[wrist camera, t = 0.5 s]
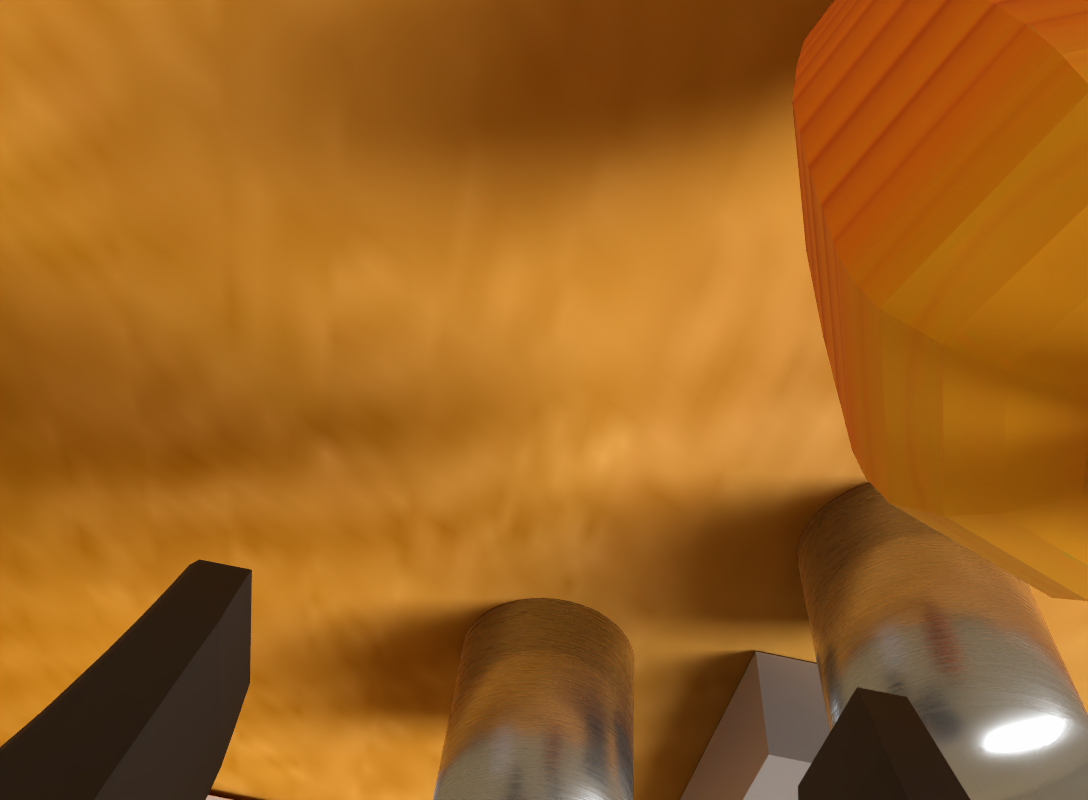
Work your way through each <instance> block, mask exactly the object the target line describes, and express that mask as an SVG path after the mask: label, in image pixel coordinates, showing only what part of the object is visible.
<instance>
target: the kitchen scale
mask: <svg viewBox="0 0 1088 800" xmlns="http://www.w3.org/2000/svg"><path fill="white" fill-rule="evenodd" d="M829 733H830V728H829V723H828V718H827V712H826V707H825V702H824V697H823V692H822V686H821V681H820V676H819V671H818V665H817V664H815V663H810V662H806V661H801V660H796V659H791V658H786V657H781V656H776V655H772V654H767V653H762V652H757V651H756V652H755V654H754V656H753V657H752V659H751V661H750V663H749V665H748V667H747V669H746V671H745V673H744V675H743V677H742V679H741V681H740V683H739V685H738V687H737V689H736V691H735V693H734V695H733V697H732V699H731V701H730V703H729V705H728V707H727V709H726V711H725V712H724V714H723V716H722V718H721V720H720V722H719V724H718V726H717V728H716V730H715V732H714V734H713V736H712V738H711V740H710V742H709V744H708V746H707V748H706V750H705V752H704V754H703V756H702V758H701V760H700V762H699V764H698V765H697V767H696V769H695V771H694V773H693V775H692V777H691V779H690V781H689V783H688V785H687V787H686V789H685V791H684V793H683V795H682V797H681V799H680V800H798V785H799V783H800V782H801V780H802V778H803V777H804V775H805V773H806V772H807V770H808V768H809V767H810V765H811V763H812V762H813V760H814V758H815V757H816V755H817V753H818V752H819V750H820V748H821V747H822V745H823V743H824V742H825V740H826V738H827V737H828V735H829Z"/></svg>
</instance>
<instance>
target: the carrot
mask: <svg viewBox="0 0 1088 800" xmlns="http://www.w3.org/2000/svg"><path fill="white" fill-rule="evenodd" d="M792 104H793V115H794V125H795V136H796V146H797V157H798V167H799V178H800V188H801V199H802V209H803V220H804V231H805V241H806V251H807V256H808V261H809V266H810V271H811V276H812V281H813V287H814V292H815V297H816V302H817V307H818V312H819V317H820V322H821V327H822V332H823V337H824V341H825V345H826V349H827V353H828V357H829V361H830V365H831V368H832V372H833V376H834V380H835V384H836V388H837V392H838V396H839V400H840V404H841V408H842V412H843V415H844V419H845V423H846V427H847V431H848V435H849V439H850V443H851V447H852V451H853V453H854V455H855V457H856V459H857V461H858V463H859V465H860V467H861V469H862V471H863V473H864V475H865V477H866V479H867V480H868V481H869V482H870V483H871V484H872V485H873V486H874V487H875V488H876V489H877V490H878V492H879V493H880V494H881V495H882V496H883V497H884V498H885V499H886V500H887V501H888V502H889V503H890V504H892V505H893V506H895V507H897V508H899V509H900V510H902V511H904V512H905V513H907V514H909V515H911V516H912V517H914V518H916V519H917V520H919V521H921V522H923V523H924V524H926V525H928V526H930V527H931V528H933V529H935V530H936V531H938V532H940V533H942V534H943V535H945V536H947V537H948V538H950V539H952V540H954V541H955V542H957V543H959V544H961V545H962V546H964V547H966V548H967V549H969V550H971V551H973V552H974V553H976V554H978V555H980V556H981V557H983V558H985V559H986V560H988V561H990V562H992V563H993V564H995V565H997V566H998V567H1000V568H1002V569H1004V570H1005V571H1007V572H1009V573H1011V574H1012V575H1014V576H1016V577H1017V578H1019V579H1021V580H1023V581H1024V582H1026V583H1028V584H1029V585H1031V586H1033V587H1035V588H1036V589H1038V590H1040V591H1042V592H1043V593H1045V594H1047V595H1048V596H1050V597H1052V598H1060V599H1071V600H1083V601H1088V0H834V1H833V2H832V4H831V5H830V6H829V8H828V9H827V10H826V12H825V13H824V14H823V16H822V17H821V18H820V20H819V21H818V22H817V24H816V25H815V26H814V27H813V29H812V30H811V31H810V33H809V34H808V35H807V37H806V38H805V39H804V41H803V45H802V48H801V52H800V55H799V59H798V62H797V66H796V73H795V82H794V92H793V101H792Z"/></svg>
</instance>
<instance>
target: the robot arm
mask: <svg viewBox="0 0 1088 800" xmlns="http://www.w3.org/2000/svg"><path fill="white" fill-rule="evenodd" d="M251 582H252V570H250V569H245V568H240V567H235V566H230V565H224V564H219V563H214V562H209V561H204V560H198V561H196V562H194V563H192V564H190V565H189V566H188V567H187V568H186V569H185V570H184V572H183V573H182V574H181V575H180V576H179V577H178V578H177V579H176V580H175V581H174V583H173V584H172V585H171V586H170V587H169V588H168V589H167V590H166V591H165V592H164V593H163V594H162V595H161V596H160V597H159V598H158V600H157V601H156V602H155V603H154V604H153V605H152V606H151V607H150V608H149V609H148V610H147V611H146V612H145V613H144V614H143V615H142V616H141V617H140V618H139V619H138V620H137V621H136V622H135V623H134V624H133V625H132V626H131V627H130V628H129V629H128V630H127V631H126V632H125V633H124V634H123V635H122V636H121V637H120V638H119V639H118V640H117V641H116V642H115V643H114V644H113V645H112V646H111V647H110V648H109V649H108V650H107V651H106V652H105V653H104V654H103V655H102V656H101V657H100V658H99V659H98V660H97V661H96V662H94V663H93V664H92V665H91V666H90V667H89V668H88V669H87V670H86V671H85V672H84V673H83V674H82V675H81V676H80V677H78V678H77V679H76V680H75V681H74V682H73V683H72V684H71V685H70V686H69V687H68V688H67V689H66V690H65V691H64V692H62V693H61V694H60V695H59V696H58V697H57V698H56V699H55V700H54V701H53V702H52V703H51V704H50V705H48V706H47V707H46V708H45V709H44V710H43V711H42V712H41V713H40V714H38V715H37V716H36V717H35V718H34V719H33V720H32V721H30V722H29V723H28V724H27V725H26V726H25V727H23V728H22V729H21V730H20V731H19V732H18V733H16V734H15V735H14V736H13V737H12V738H11V739H9V740H8V741H7V742H6V743H5V744H4V745H2V746H1V747H0V800H232V799H227V798H222V797H217V796H212V795H208V794H209V792H210V790H211V787H212V785H213V783H214V781H215V779H216V776H217V774H218V772H219V770H220V768H221V765H222V762H223V759H224V757H225V754H226V751H227V748H228V745H229V742H230V740H231V737H232V734H233V731H234V728H235V725H236V722H237V719H238V716H239V713H240V711H241V708H242V705H243V702H244V699H245V696H246V693H247V690H248V687H249V684H250V646H251ZM798 800H970V798H969V796H968V795H967V793H966V792H965V790H964V788H963V787H962V785H961V784H960V782H959V780H958V779H957V777H956V775H955V774H954V772H953V771H952V769H951V767H950V766H949V764H948V762H947V761H946V759H945V758H944V756H943V754H942V753H941V751H940V749H939V748H938V746H937V745H936V743H935V741H934V740H933V738H932V736H931V735H930V733H929V732H928V730H927V728H926V727H925V725H924V723H923V722H922V720H921V719H920V717H919V715H918V714H917V712H916V710H915V709H914V707H913V706H912V704H911V703H910V701H909V699H908V698H907V697H905V696H900V695H895V694H890V693H884V692H879V691H874V690H869V689H864V688H859V687H857V688H856V690H855V691H854V693H853V695H852V696H851V698H850V700H849V701H848V703H847V705H846V706H845V708H844V710H843V711H842V713H841V715H840V716H839V718H838V720H837V721H836V723H835V725H834V726H833V728H832V730H831V731H830V733H829V735H828V737H827V738H826V740H825V742H824V743H823V745H822V747H821V748H820V750H819V752H818V753H817V755H816V757H815V758H814V760H813V762H812V763H811V765H810V767H809V768H808V770H807V772H806V773H805V775H804V777H803V778H802V780H801V782H800V783H799V785H798Z"/></svg>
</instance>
